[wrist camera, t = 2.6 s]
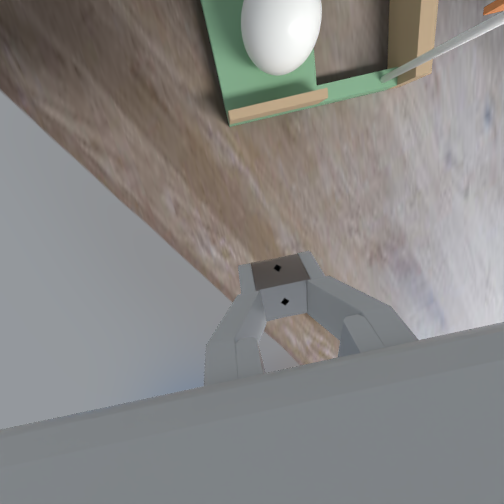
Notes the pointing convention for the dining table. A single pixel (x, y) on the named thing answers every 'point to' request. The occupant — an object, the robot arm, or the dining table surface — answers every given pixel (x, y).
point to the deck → (304, 77)
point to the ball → (280, 32)
